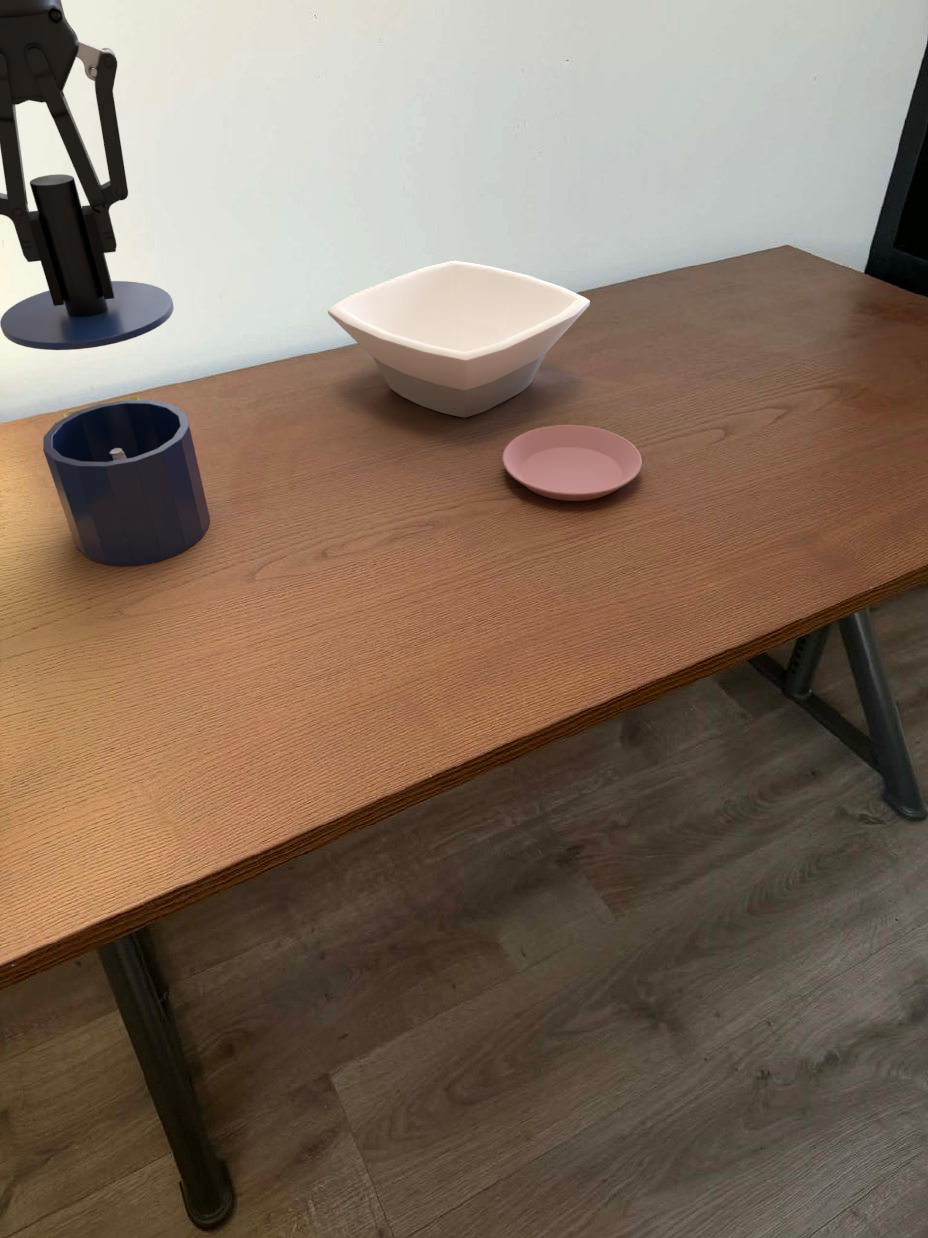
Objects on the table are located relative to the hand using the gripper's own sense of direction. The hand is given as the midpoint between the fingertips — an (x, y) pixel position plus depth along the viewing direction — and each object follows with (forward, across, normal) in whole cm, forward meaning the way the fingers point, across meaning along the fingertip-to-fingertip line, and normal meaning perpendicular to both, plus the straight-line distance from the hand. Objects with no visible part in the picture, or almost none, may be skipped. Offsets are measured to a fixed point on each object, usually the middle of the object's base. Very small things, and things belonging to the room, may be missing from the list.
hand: (83, 295), depth 76 cm
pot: (+23, 0, 0) cm, 23 cm away
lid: (+2, 0, 0) cm, 2 cm away
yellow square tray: (+23, +2, -21) cm, 31 cm away
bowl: (+23, -38, -19) cm, 49 cm away
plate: (+23, -43, +5) cm, 49 cm away
